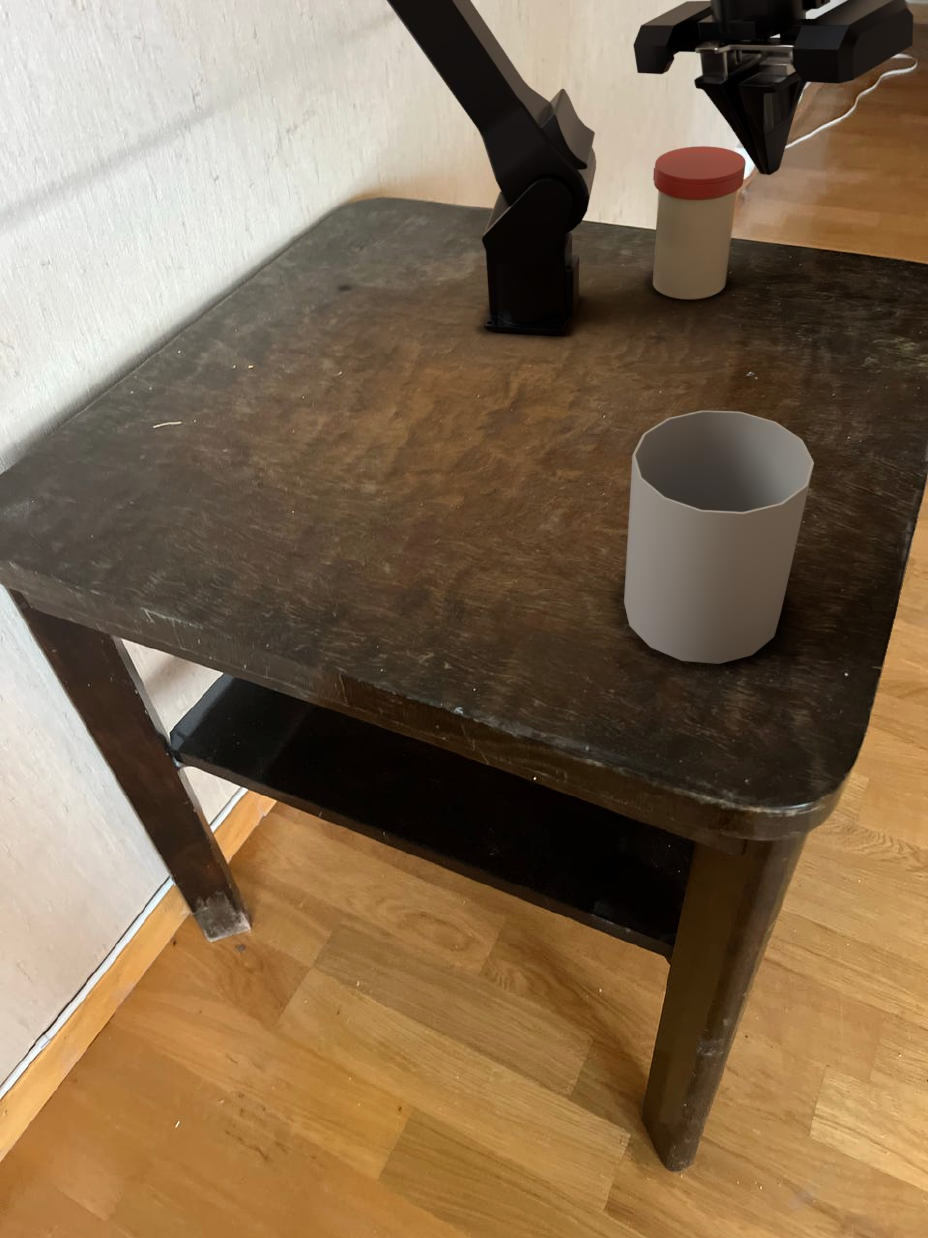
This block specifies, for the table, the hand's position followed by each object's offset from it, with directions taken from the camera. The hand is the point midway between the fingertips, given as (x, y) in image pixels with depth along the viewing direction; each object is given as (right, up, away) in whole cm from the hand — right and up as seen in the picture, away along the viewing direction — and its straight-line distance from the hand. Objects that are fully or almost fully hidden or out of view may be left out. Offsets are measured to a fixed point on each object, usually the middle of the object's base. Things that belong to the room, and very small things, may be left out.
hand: (770, 171), depth 67 cm
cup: (-8, -31, -14) cm, 35 cm away
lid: (-3, +3, +6) cm, 8 cm away
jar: (-3, -3, +13) cm, 13 cm away
